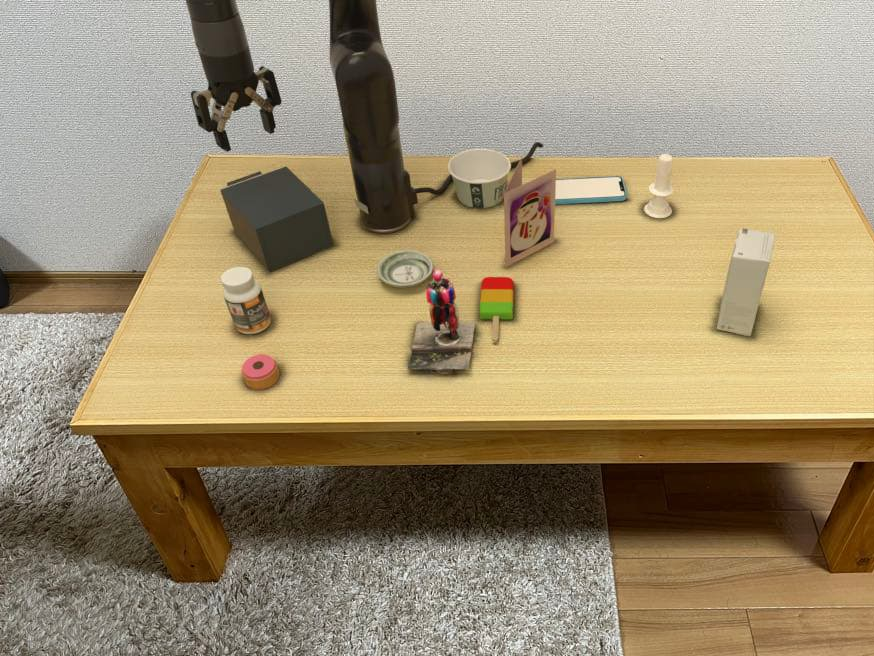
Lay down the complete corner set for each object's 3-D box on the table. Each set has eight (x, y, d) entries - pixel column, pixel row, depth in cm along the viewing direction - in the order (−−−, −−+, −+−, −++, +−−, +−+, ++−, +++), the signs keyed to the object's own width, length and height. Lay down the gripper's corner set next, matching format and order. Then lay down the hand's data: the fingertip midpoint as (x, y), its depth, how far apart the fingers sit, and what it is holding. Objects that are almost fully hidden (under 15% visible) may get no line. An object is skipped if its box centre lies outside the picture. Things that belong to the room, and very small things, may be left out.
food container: (457, 175, 155) (455, 145, 150) (515, 180, 154) (515, 150, 149) (444, 209, 147) (441, 179, 142) (505, 215, 146) (505, 184, 141)
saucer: (372, 268, 135) (370, 257, 133) (424, 255, 138) (423, 244, 136) (387, 301, 129) (385, 290, 127) (441, 287, 132) (440, 276, 130)
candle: (676, 208, 148) (686, 151, 139) (664, 221, 145) (673, 165, 136) (651, 199, 150) (659, 143, 141) (639, 212, 147) (646, 156, 138)
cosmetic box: (750, 337, 124) (772, 264, 113) (713, 329, 126) (731, 256, 114) (756, 305, 130) (778, 232, 119) (721, 297, 131) (739, 224, 120)
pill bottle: (262, 338, 123) (245, 290, 116) (229, 332, 124) (210, 285, 116) (277, 314, 127) (261, 267, 119) (245, 309, 127) (227, 262, 120)
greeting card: (508, 269, 135) (507, 196, 124) (482, 249, 139) (478, 176, 128) (556, 243, 140) (559, 171, 129) (530, 225, 144) (530, 153, 133)
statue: (418, 332, 126) (408, 252, 116) (475, 333, 126) (469, 252, 116) (408, 374, 118) (395, 292, 108) (468, 375, 118) (461, 293, 108)
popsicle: (513, 284, 133) (513, 275, 131) (512, 345, 123) (512, 336, 121) (482, 284, 133) (481, 275, 131) (477, 345, 123) (477, 336, 121)
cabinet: (234, 232, 141) (219, 189, 135) (297, 208, 147) (286, 166, 140) (269, 272, 134) (255, 229, 127) (334, 245, 139) (324, 202, 132)
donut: (270, 360, 120) (266, 348, 118) (285, 379, 117) (281, 367, 115) (239, 374, 118) (234, 362, 116) (253, 394, 115) (249, 382, 113)
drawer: (221, 210, 144) (209, 176, 139) (278, 190, 149) (268, 156, 144) (264, 259, 135) (253, 224, 129) (322, 235, 140) (314, 201, 134)
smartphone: (547, 179, 153) (621, 175, 153) (547, 184, 154) (621, 180, 154) (550, 200, 148) (627, 197, 148) (550, 206, 149) (626, 202, 149)
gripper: (194, 66, 113) (223, 164, 126) (275, 38, 121) (296, 133, 133) (167, 49, 117) (198, 147, 129) (248, 23, 124) (271, 118, 136)
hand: (248, 140), depth 131 cm, fingers open, 8 cm apart
